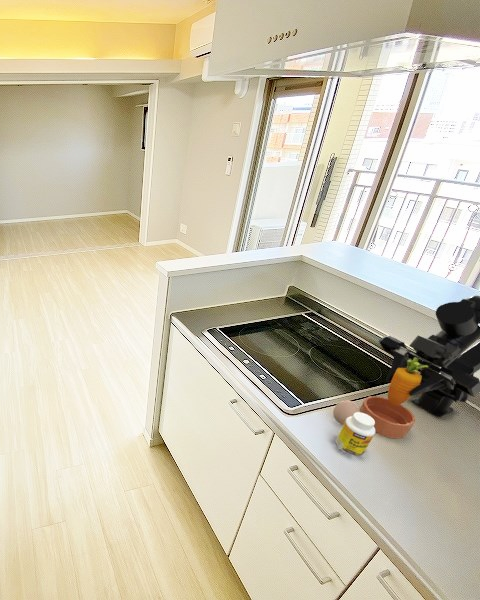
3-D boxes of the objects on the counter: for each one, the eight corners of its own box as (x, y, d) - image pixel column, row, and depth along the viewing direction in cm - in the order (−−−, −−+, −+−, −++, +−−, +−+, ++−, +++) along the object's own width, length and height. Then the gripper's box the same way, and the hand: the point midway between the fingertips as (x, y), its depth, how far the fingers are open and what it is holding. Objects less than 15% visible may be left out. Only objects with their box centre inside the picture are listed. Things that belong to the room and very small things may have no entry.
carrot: (387, 396, 87) (411, 351, 80) (409, 410, 82) (436, 363, 75) (374, 402, 85) (397, 356, 78) (396, 415, 81) (422, 368, 74)
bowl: (373, 405, 92) (380, 392, 90) (416, 432, 84) (424, 418, 82) (348, 415, 90) (355, 402, 87) (389, 444, 81) (398, 430, 79)
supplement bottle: (340, 455, 79) (355, 425, 74) (331, 436, 84) (345, 407, 79) (367, 460, 78) (384, 430, 73) (357, 440, 83) (372, 411, 78)
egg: (327, 413, 91) (335, 393, 87) (349, 417, 89) (359, 397, 86) (333, 428, 86) (342, 407, 83) (357, 432, 85) (368, 412, 81)
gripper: (398, 307, 82) (350, 352, 84) (502, 349, 66) (438, 403, 69) (408, 327, 87) (362, 369, 90) (506, 371, 71) (447, 420, 74)
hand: (397, 388), depth 80 cm, fingers closed on carrot, 5 cm apart
